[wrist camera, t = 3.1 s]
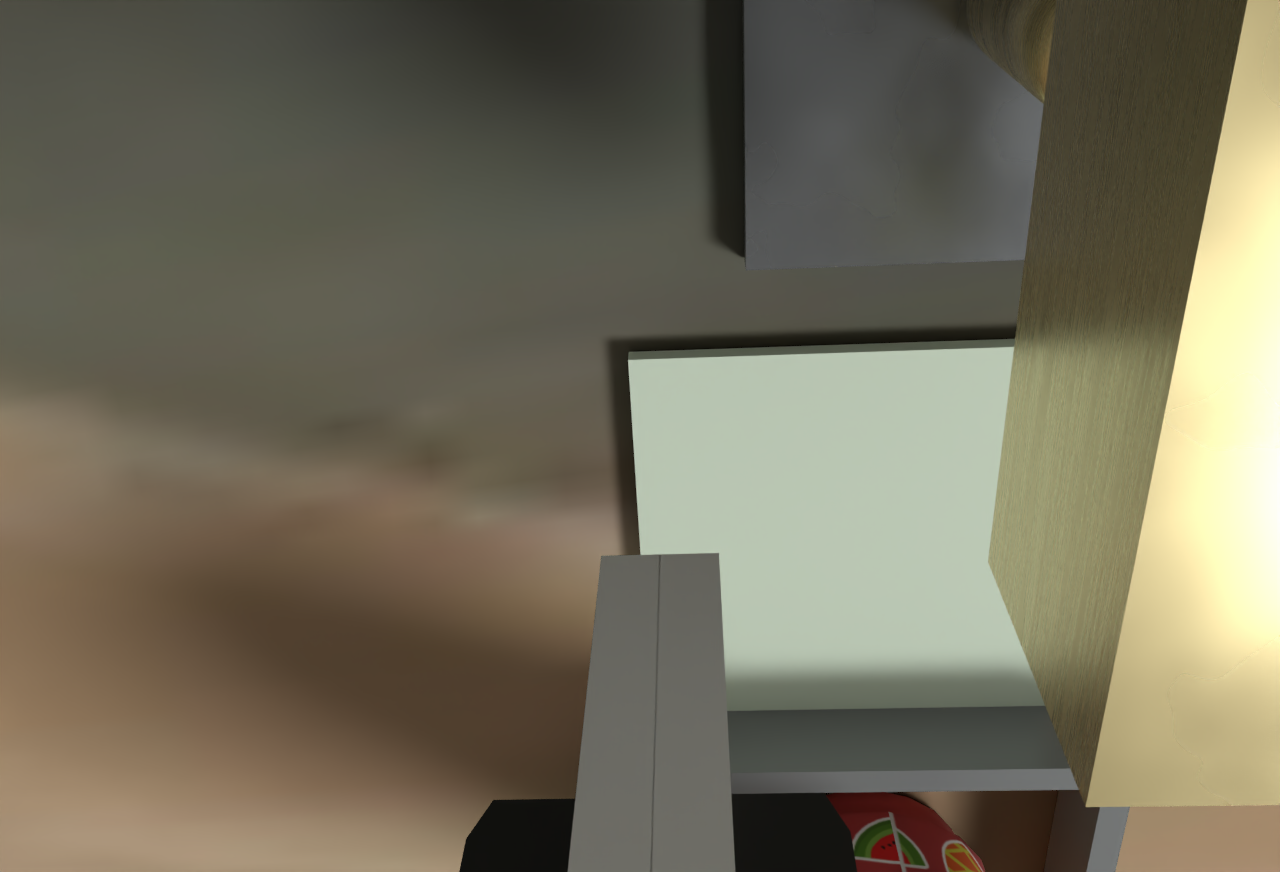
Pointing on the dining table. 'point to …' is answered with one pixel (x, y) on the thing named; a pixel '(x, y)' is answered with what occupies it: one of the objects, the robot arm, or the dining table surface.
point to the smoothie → (901, 835)
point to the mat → (838, 516)
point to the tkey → (1148, 394)
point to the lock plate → (880, 137)
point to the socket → (925, 764)
